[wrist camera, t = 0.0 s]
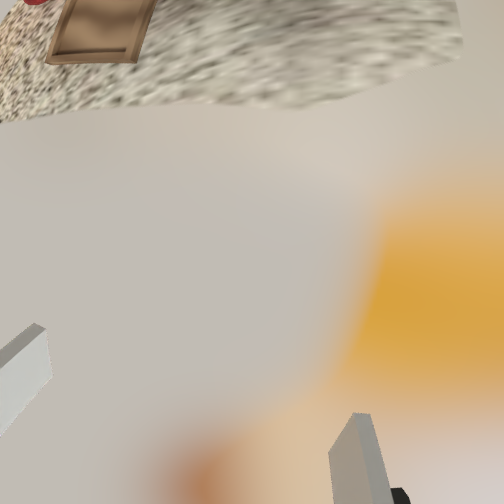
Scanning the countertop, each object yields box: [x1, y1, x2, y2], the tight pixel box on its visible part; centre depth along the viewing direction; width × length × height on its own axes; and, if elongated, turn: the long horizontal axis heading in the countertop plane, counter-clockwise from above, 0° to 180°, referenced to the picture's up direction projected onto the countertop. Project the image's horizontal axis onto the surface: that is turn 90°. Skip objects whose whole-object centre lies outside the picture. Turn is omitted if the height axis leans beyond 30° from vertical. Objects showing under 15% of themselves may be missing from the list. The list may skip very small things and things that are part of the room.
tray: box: [45, 0, 157, 65], centre depth 30 cm, size 15×15×2 cm
